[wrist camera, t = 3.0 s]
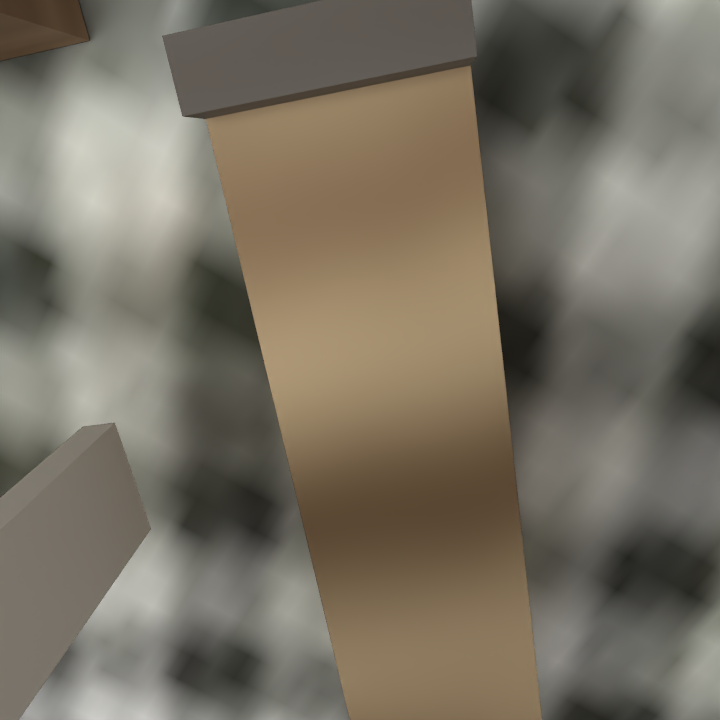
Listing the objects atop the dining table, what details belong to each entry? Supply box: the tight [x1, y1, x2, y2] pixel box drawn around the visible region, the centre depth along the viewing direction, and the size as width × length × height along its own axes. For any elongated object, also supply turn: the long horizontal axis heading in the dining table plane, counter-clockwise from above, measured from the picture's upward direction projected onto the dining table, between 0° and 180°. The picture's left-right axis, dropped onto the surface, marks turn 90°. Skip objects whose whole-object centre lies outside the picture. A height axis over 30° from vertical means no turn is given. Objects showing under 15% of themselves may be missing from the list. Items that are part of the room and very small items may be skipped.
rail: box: [162, 0, 542, 720], centre depth 13 cm, size 16×4×6 cm, turn 10°
